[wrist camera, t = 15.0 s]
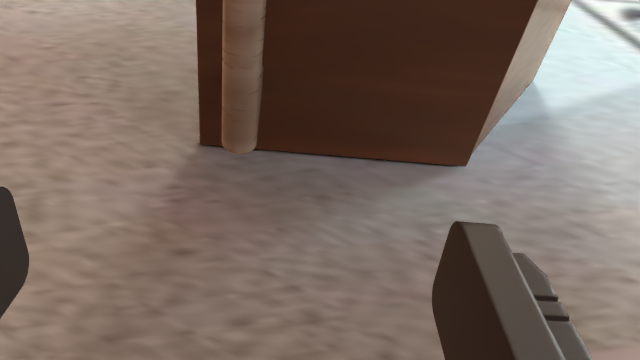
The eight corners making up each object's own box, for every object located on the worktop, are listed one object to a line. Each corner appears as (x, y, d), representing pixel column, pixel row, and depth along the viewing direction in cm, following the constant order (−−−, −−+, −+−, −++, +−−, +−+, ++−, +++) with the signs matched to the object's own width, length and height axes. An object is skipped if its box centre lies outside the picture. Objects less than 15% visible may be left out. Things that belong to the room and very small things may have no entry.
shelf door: (491, 231, 27) (754, -255, 14) (184, 210, 25) (148, -378, 12) (462, 156, 31) (636, -259, 18) (202, 133, 29) (190, -347, 16)
